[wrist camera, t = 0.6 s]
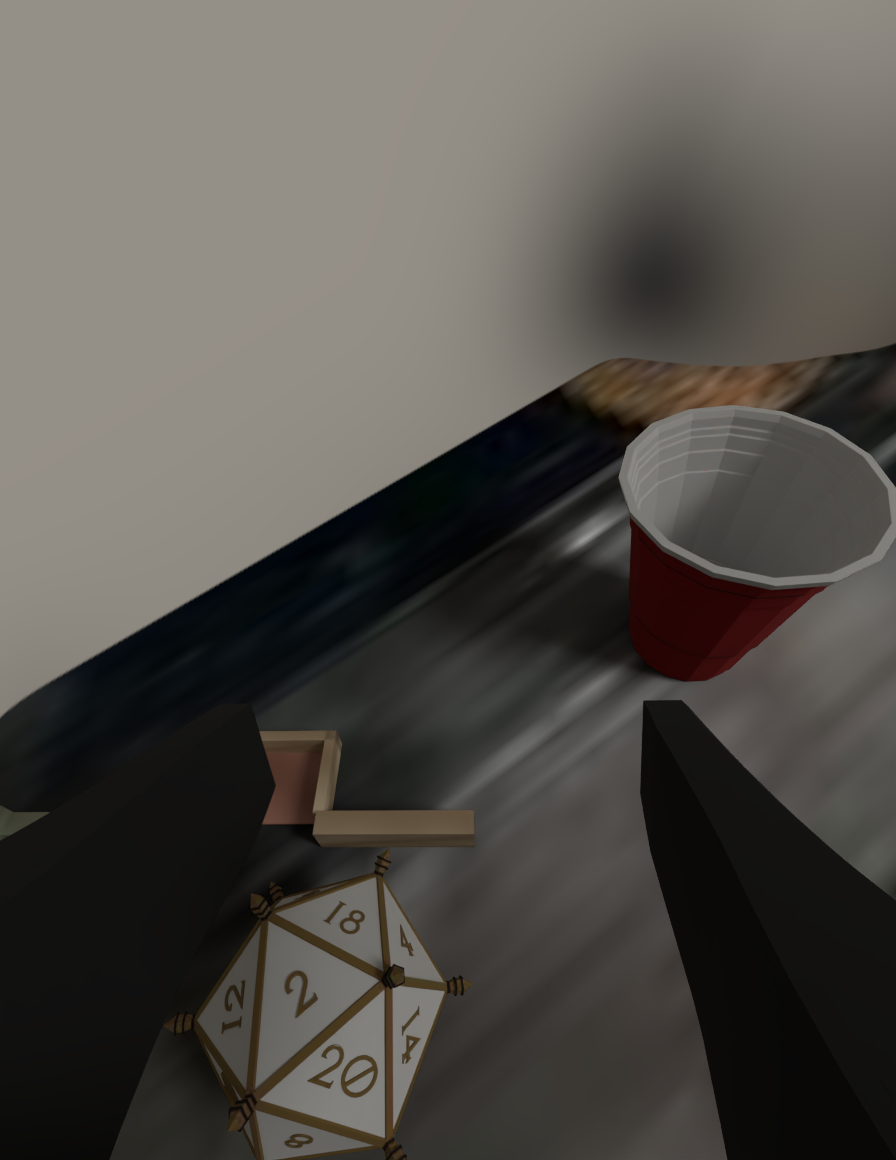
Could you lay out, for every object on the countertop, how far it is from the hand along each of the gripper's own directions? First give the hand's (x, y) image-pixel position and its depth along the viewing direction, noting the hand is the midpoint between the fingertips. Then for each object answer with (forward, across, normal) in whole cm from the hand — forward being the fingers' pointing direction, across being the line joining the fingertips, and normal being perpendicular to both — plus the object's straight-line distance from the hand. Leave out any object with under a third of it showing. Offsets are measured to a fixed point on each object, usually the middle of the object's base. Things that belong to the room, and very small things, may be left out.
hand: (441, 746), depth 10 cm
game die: (+4, +6, +17) cm, 18 cm away
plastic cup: (+21, -9, +11) cm, 26 cm away
